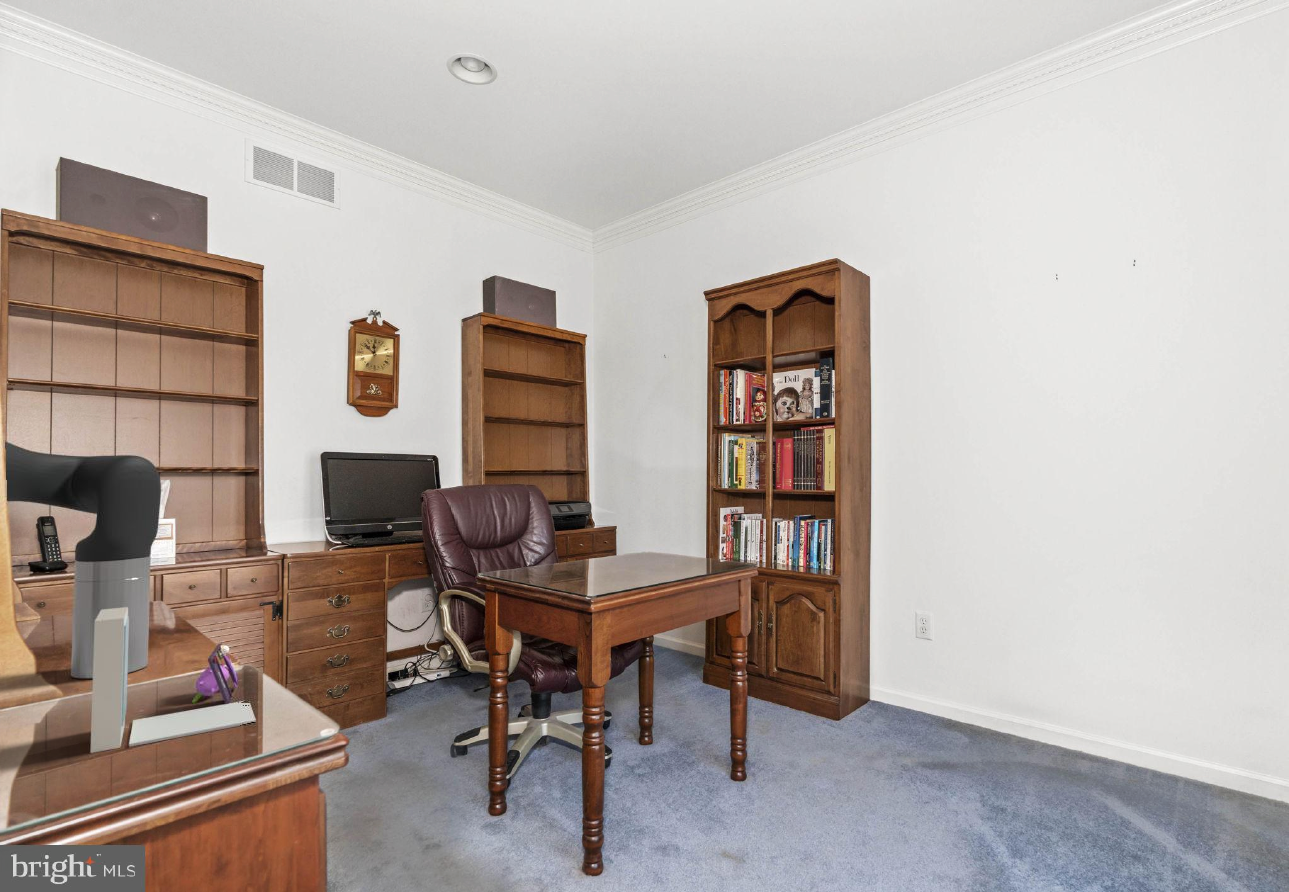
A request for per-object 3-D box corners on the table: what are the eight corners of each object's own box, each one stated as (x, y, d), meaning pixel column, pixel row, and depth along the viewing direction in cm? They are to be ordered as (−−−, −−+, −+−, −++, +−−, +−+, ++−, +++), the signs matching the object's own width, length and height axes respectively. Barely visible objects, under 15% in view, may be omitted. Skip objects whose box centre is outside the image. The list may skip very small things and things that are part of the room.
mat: (133, 722, 79) (133, 720, 79) (248, 702, 86) (248, 700, 86) (128, 746, 72) (129, 744, 72) (255, 722, 79) (255, 720, 79)
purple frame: (217, 655, 85) (227, 640, 93) (170, 674, 83) (185, 657, 91) (236, 703, 85) (244, 684, 94) (190, 723, 83) (203, 701, 91)
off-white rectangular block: (97, 730, 77) (101, 609, 78) (126, 725, 79) (129, 606, 79) (90, 753, 71) (94, 621, 71) (122, 747, 72) (125, 617, 73)
